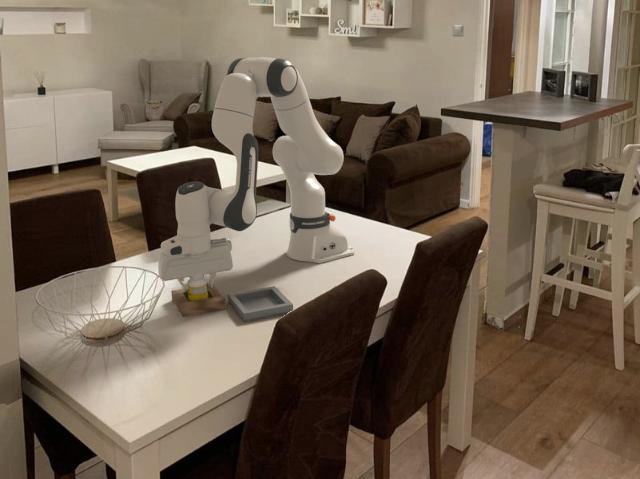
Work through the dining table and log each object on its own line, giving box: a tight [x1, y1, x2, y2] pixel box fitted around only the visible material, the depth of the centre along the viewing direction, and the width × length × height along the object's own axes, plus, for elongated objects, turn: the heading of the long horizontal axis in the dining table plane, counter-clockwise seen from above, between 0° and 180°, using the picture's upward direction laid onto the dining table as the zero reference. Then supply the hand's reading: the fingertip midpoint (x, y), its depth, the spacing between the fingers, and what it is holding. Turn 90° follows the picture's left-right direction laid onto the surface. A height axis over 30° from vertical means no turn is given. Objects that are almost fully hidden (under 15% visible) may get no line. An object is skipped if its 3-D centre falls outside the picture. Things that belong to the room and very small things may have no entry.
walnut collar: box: [171, 284, 226, 318], centre depth 203 cm, size 12×12×3 cm
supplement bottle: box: [186, 274, 208, 302], centre depth 202 cm, size 5×5×10 cm
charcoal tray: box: [227, 285, 294, 323], centre depth 202 cm, size 14×14×2 cm
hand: (197, 289), depth 202 cm, fingers closed on supplement bottle, 5 cm apart
